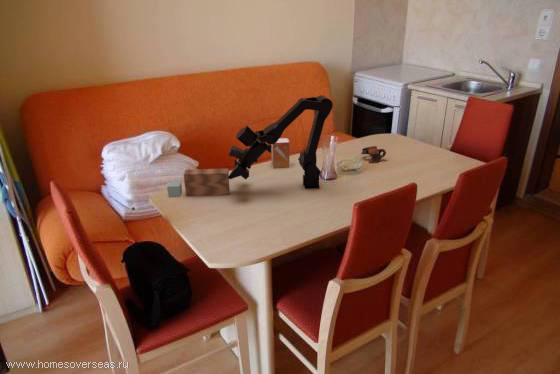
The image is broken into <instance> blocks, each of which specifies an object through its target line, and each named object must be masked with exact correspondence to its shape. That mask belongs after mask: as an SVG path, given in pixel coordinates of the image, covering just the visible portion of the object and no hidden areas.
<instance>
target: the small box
mask: <svg viewBox="0 0 560 374" xmlns="http://www.w3.org/2000/svg"><path fill="white" fill-rule="evenodd" d="M271 146H272V147H271V166H272V168H273V169H280V168H284V169H285V168H290V140H289V138H286V137H283V138H282V137H280V138H279V140H278V141H277V142H276V143H275V144H271Z"/></svg>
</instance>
